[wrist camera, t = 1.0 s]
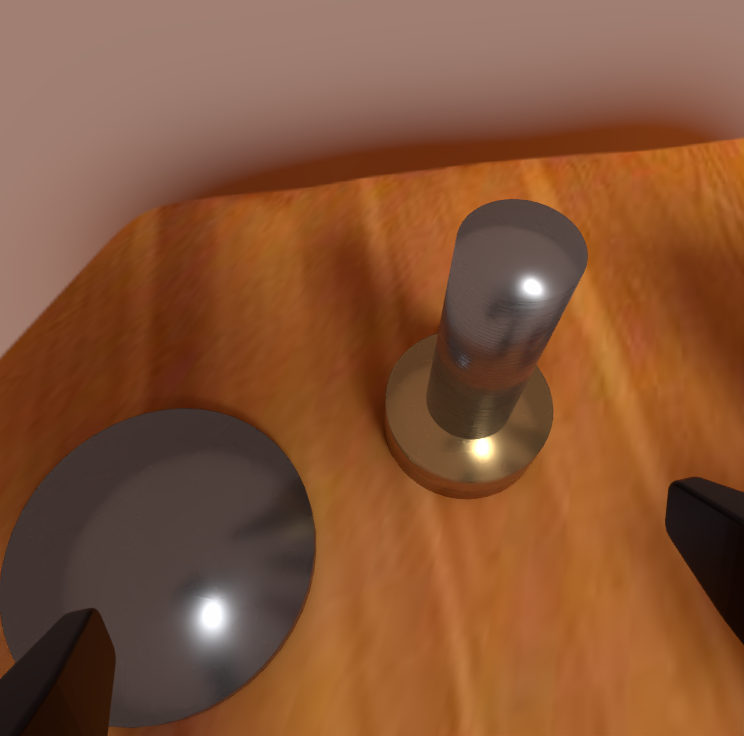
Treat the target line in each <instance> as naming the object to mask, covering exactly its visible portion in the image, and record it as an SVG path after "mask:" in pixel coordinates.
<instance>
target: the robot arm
mask: <svg viewBox="0 0 744 736" xmlns="http://www.w3.org/2000/svg"><path fill="white" fill-rule="evenodd" d="M665 525H666V530H667V533H668V535H669V537H670V539H671V540H672V542H673V543H674V545H675V546H676V548H677V549H678V551H679V553H680V554H681V556H682V557H683V559H684V560H685V562H686V563H687V565H688V566H689V568H690V569H691V571H692V572H693V574H694V575H695V577H696V578H697V580H698V582H699V583H700V585H701V586H702V588H703V589H704V591H705V592H706V594H707V595H708V597H709V598H710V600H711V601H712V603H713V604H714V606H715V607H716V609H717V610H718V612H719V613H720V615H721V616H722V617H723V619H724V620H725V622H726V623H727V624H728V625H729V627H730V628H731V629H732V631H733V632H734V633H735V635H736V636H737V637H738V638H739V640H740V641H741V642H742V643H743V645H744V492H741V491H738V490H735V489H732V488H729V487H726V486H723V485H720V484H718V483H715V482H712V481H709V480H706V479H703V478H700V477H690V478H685V479H680V480H676V481H674V482H672V483H671V484H670V486H669V489H668V498H667V508H666V518H665ZM115 667H116V654H115V648H114V645H113V643H112V640H111V638H110V636H109V633H108V631H107V628H106V626H105V624H104V621H103V619H102V617H101V614H100V613H99V611H98V610H97V609H95V608H87V609H82V610H77V611H73V612H69V613H66V614H65V615H63V616H62V617H61V618H60V619H59V620H58V621H57V622H56V623H55V624H54V625H53V626H52V627H51V628H50V629H49V630H48V631H47V632H46V633H45V634H44V635H43V636H42V637H41V638H40V639H39V640H38V641H37V642H36V643H35V644H34V645H33V646H32V647H31V648H30V649H29V650H28V651H27V652H26V653H25V654H24V655H23V656H22V657H21V658H20V659H19V660H18V661H17V662H16V663H15V664H14V665H13V666H12V667H11V668H10V669H9V670H8V671H7V673H6V674H5V675H4V676H3V677H2V678H1V679H0V736H107V735H108V727H109V718H110V710H111V701H112V692H113V684H114V675H115Z"/></svg>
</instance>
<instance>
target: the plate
mask: <svg viewBox="0 0 744 736" xmlns="http://www.w3.org/2000/svg"><path fill="white" fill-rule="evenodd" d="M315 558H316V530H315V524H314V518H313V512H312V509H311V506H310V503H309V499H308V496H307V493H306V490H305V487H304V485H303V483H302V481H301V478H300V476H299V474H298V472H297V470H296V469H295V467H294V466H293V464H292V463H291V461H290V460H289V458H288V457H287V456H286V455H285V453H284V452H283V451H282V450H281V449H280V448H279V447H278V445H277V444H276V443H274V442H273V441H272V440H271V439H270V438H269V437H267V436H266V435H265V434H264V433H262V432H261V431H259V430H258V429H256V428H255V427H253V426H251V425H250V424H248V423H246V422H244V421H241V420H239V419H237V418H235V417H232V416H229V415H225V414H222V413H219V412H214V411H208V410H202V409H186V408H181V409H167V410H160V411H155V412H150V413H145V414H142V415H139V416H135V417H132V418H129V419H126V420H124V421H122V422H119V423H117V424H114V425H112V426H110V427H108V428H106V429H105V430H103V431H101V432H99V433H97V434H95V435H94V436H92V437H91V438H89V439H88V440H86V441H85V442H83V443H82V444H81V445H79V446H78V447H76V448H75V449H74V450H73V451H72V452H71V453H69V454H68V455H67V456H66V457H65V458H63V459H62V460H61V461H60V462H59V463H58V464H57V465H56V466H55V467H54V468H53V470H52V471H51V472H50V473H49V474H48V475H47V476H46V477H45V478H44V480H43V481H42V482H41V484H40V485H39V486H38V487H37V489H36V490H35V491H34V493H33V494H32V496H31V497H30V499H29V501H28V502H27V504H26V505H25V507H24V509H23V510H22V512H21V514H20V516H19V519H18V521H17V523H16V525H15V527H14V529H13V532H12V534H11V537H10V540H9V543H8V546H7V549H6V552H5V557H4V561H3V566H2V570H1V581H0V614H1V620H2V625H3V631H4V635H5V638H6V641H7V644H8V646H9V649H10V652H11V654H12V656H13V658H14V660H15V662H17V661H18V660H19V659H20V658H21V657H22V656H23V655H24V654H25V653H26V652H27V651H28V650H29V649H30V648H31V647H32V646H33V645H34V644H35V643H36V642H37V641H38V640H39V639H40V638H41V637H42V636H43V635H44V634H45V633H46V632H47V631H48V630H49V629H50V628H51V627H52V626H53V625H54V624H55V623H56V622H57V621H58V620H59V619H60V618H61V617H62V616H63V615H65V614H66V613H69V612H73V611H77V610H82V609H87V608H95V609H97V610H98V611H99V613H100V614H101V617H102V619H103V621H104V624H105V626H106V628H107V631H108V633H109V636H110V638H111V640H112V643H113V645H114V648H115V654H116V667H115V675H114V684H113V692H112V701H111V710H110V718H109V726H112V727H130V728H133V727H144V726H154V725H161V724H166V723H171V722H175V721H179V720H183V719H187V718H189V717H192V716H194V715H197V714H199V713H202V712H204V711H207V710H209V709H211V708H213V707H215V706H216V705H218V704H220V703H222V702H224V701H225V700H227V699H229V698H230V697H232V696H233V695H234V694H236V693H237V692H238V691H240V690H241V689H243V688H244V687H245V686H247V685H248V684H249V683H250V682H251V681H252V680H253V679H254V678H255V677H256V676H258V675H259V674H260V673H261V672H262V671H263V670H264V669H265V668H266V667H267V666H268V664H269V663H270V662H271V661H272V660H273V658H274V657H275V656H276V655H277V654H278V652H279V651H280V650H281V648H282V647H283V645H284V644H285V642H286V641H287V639H288V638H289V636H290V634H291V633H292V631H293V630H294V627H295V625H296V623H297V621H298V619H299V617H300V615H301V613H302V611H303V609H304V606H305V603H306V600H307V597H308V594H309V591H310V588H311V583H312V578H313V574H314V568H315Z"/></svg>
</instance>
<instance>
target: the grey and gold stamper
mask: <svg viewBox="0 0 744 736" xmlns="http://www.w3.org/2000/svg"><path fill="white" fill-rule="evenodd" d="M587 260H588V252H587V247H586V243H585V241H584V238H583V236H582V234H581V233H580V231H579V230H578V229H577V227H576V226H575V225H574V224H573V223H572V222H571V221H570V220H569V219H568V218H567V217H565V216H564V215H563V214H561V213H560V212H558V211H556V210H554V209H553V208H550V207H548V206H546V205H543V204H540V203H537V202H533V201H528V200H519V199H508V200H499V201H495V202H491V203H488V204H485V205H483V206H481V207H479V208H477V209H476V210H474V211H473V212H471V213H470V214H469V215H468V216H467V217H466V218H465V220H464V221H463V222H462V224H461V226H460V228H459V230H458V233H457V238H456V243H455V248H454V253H453V258H452V263H451V269H450V274H449V279H448V284H447V289H446V294H445V300H444V305H443V310H442V315H441V320H440V325H439V331H438V333H437V334H434V335H431V336H429V337H426V338H424V339H422V340H421V341H419V342H417V343H416V344H414V345H413V346H412V347H410V348H409V349H408V350H407V351H406V352H405V353H404V354H403V355H402V356H401V357H400V358H399V360H398V361H397V363H396V364H395V366H394V368H393V370H392V372H391V374H390V377H389V380H388V383H387V388H386V400H385V417H384V428H385V436H386V440H387V444H388V446H389V449H390V451H391V453H392V455H393V457H394V459H395V461H396V462H397V463H398V465H399V466H400V467H401V469H402V470H403V471H404V472H405V473H406V474H407V475H408V476H409V477H410V478H411V479H413V480H414V481H415V482H416V483H418V484H419V485H421V486H422V487H424V488H426V489H428V490H430V491H432V492H434V493H437V494H440V495H443V496H446V497H451V498H457V499H476V498H482V497H487V496H491V495H493V494H496V493H499V492H501V491H503V490H505V489H506V488H508V487H509V486H511V485H512V484H514V483H515V482H516V481H517V480H518V479H519V478H520V477H521V476H522V475H523V474H524V472H525V471H526V470H527V468H528V467H529V466H530V464H531V463H532V461H533V460H534V459H535V457H536V456H537V454H538V453H539V452H540V450H541V449H542V447H543V446H544V444H545V442H546V440H547V438H548V436H549V433H550V430H551V426H552V421H553V402H552V397H551V393H550V389H549V387H548V384H547V382H546V379H545V378H544V376H543V374H542V372H541V371H540V369H539V368H538V367H537V363H538V361H539V359H540V357H541V355H542V353H543V351H544V349H545V347H546V345H547V343H548V341H549V339H550V338H551V336H552V334H553V332H554V330H555V328H556V326H557V324H558V322H559V320H560V318H561V316H562V314H563V312H564V310H565V308H566V306H567V304H568V302H569V300H570V298H571V296H572V295H573V293H574V291H575V289H576V287H577V285H578V283H579V281H580V279H581V277H582V275H583V273H584V271H585V268H586V265H587Z"/></svg>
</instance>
